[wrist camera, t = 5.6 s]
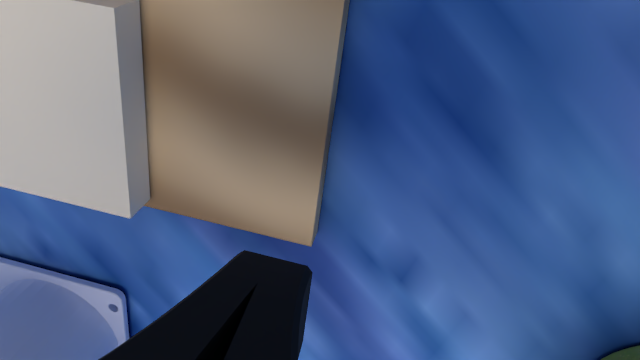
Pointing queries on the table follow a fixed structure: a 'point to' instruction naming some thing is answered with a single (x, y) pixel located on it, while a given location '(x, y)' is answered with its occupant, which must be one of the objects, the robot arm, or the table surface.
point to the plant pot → (625, 354)
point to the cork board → (241, 109)
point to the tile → (74, 103)
